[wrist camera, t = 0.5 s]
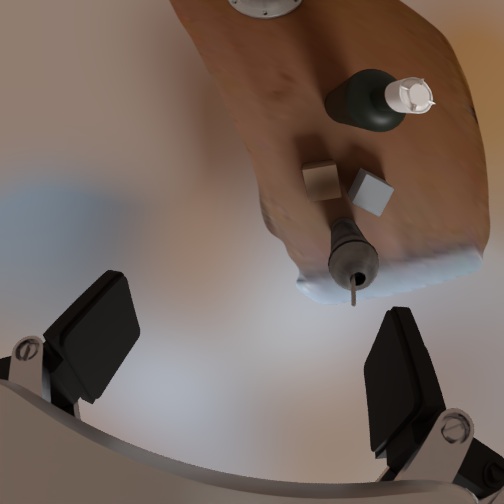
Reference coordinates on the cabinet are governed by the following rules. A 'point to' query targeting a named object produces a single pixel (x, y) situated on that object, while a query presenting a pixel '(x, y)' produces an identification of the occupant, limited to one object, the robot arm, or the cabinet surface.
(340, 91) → the wine bottle
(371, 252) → the beverage cup
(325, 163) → the walnut block
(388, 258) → the cabinet surface
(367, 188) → the light grey cube
